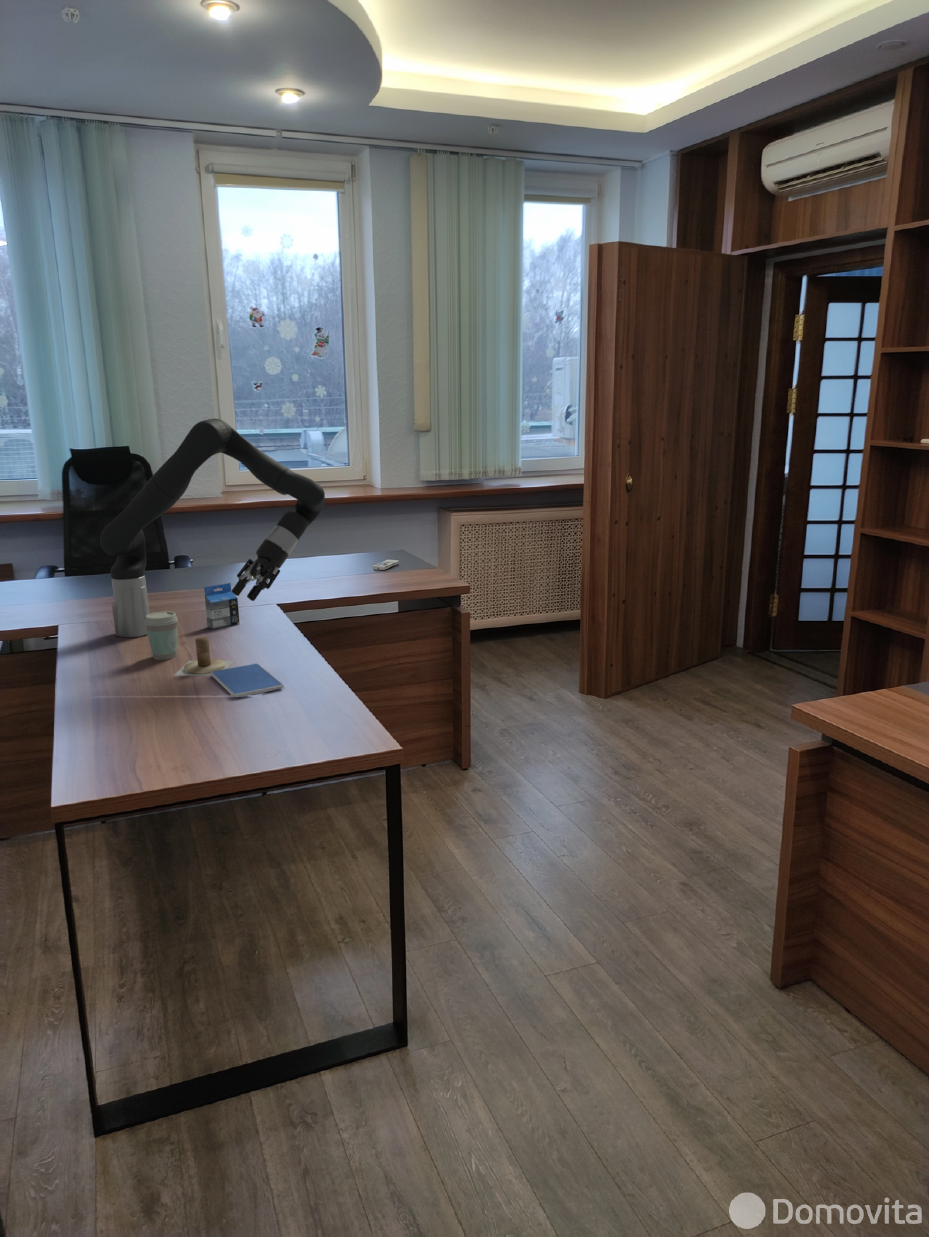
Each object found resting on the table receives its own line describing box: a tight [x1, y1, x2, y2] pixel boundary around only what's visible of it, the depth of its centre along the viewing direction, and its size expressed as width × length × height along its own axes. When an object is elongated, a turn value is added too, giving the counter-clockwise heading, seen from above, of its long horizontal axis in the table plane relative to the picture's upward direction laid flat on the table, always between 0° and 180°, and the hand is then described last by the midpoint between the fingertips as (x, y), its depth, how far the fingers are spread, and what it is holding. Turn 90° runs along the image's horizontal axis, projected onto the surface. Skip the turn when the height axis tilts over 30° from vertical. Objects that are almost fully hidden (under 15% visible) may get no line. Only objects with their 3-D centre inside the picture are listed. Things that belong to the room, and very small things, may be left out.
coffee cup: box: [144, 610, 179, 661], centre depth 234 cm, size 9×9×12 cm
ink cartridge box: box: [203, 582, 241, 630], centre depth 264 cm, size 9×4×12 cm, turn 131°
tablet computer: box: [210, 663, 285, 698], centre depth 214 cm, size 19×13×1 cm, turn 32°
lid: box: [183, 636, 225, 674], centre depth 224 cm, size 10×10×8 cm
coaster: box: [173, 660, 235, 677], centre depth 225 cm, size 12×12×1 cm
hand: (242, 596), depth 229 cm, fingers open, 8 cm apart
